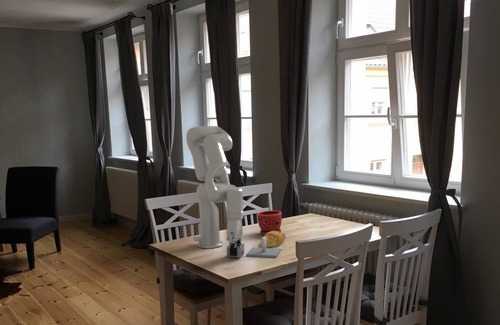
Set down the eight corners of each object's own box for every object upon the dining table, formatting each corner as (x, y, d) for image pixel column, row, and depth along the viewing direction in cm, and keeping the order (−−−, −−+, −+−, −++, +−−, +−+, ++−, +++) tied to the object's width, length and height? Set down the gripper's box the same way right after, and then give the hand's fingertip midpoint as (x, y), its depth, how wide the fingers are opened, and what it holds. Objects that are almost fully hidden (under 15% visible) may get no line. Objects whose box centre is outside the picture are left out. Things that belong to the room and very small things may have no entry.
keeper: (246, 256, 209) (245, 240, 208) (252, 249, 220) (252, 234, 219) (276, 257, 205) (275, 241, 205) (281, 250, 216) (280, 235, 215)
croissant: (265, 257, 218) (271, 244, 215) (250, 245, 223) (255, 232, 220) (288, 245, 235) (294, 233, 232) (273, 234, 240) (279, 222, 237)
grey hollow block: (226, 256, 207) (226, 246, 206) (231, 252, 213) (230, 242, 212) (240, 257, 205) (240, 247, 204) (244, 253, 211) (244, 243, 211)
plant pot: (282, 230, 254) (281, 209, 253) (281, 237, 241) (281, 214, 240) (259, 231, 255) (258, 210, 254) (257, 237, 242) (256, 215, 241)
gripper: (232, 210, 216) (233, 247, 218) (220, 219, 199) (221, 258, 201) (247, 211, 214) (248, 248, 216) (237, 220, 197) (238, 260, 200)
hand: (235, 252), depth 209 cm, fingers closed on grey hollow block, 6 cm apart
